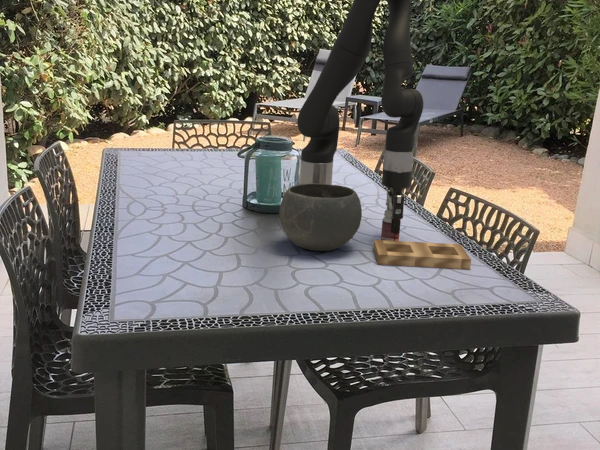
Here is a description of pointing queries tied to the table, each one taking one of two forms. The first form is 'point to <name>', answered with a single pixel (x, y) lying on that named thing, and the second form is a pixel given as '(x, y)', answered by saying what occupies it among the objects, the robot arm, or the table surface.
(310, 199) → the bowl
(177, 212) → the table surface
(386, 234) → the pill bottle
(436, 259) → the holder block
